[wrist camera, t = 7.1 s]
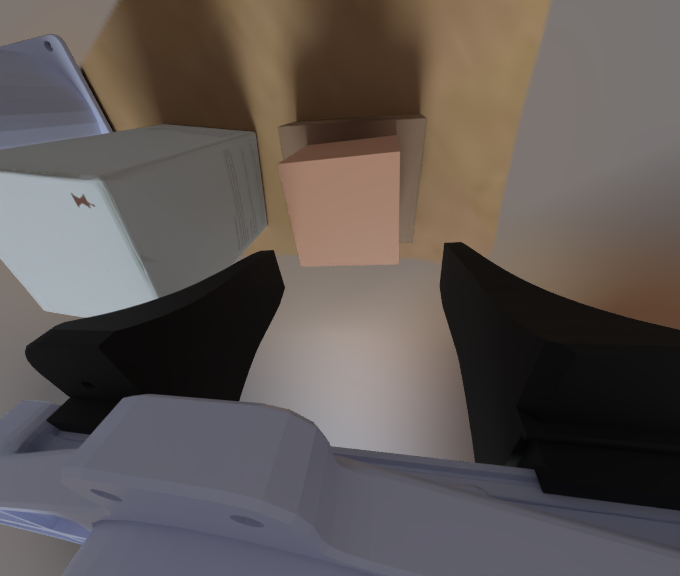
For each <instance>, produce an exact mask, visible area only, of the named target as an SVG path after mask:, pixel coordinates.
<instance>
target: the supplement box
mask: <svg viewBox="0 0 680 576" xmlns="http://www.w3.org/2000/svg"><path fill="white" fill-rule="evenodd" d="M266 227H267V217H266V208H265V201H264V193H263V185H262V178H261V170H260V162H259V155H258V147H257V139H256V133H255V132H252V131H240V130H227V129H215V128H204V127H192V126H180V125H166V124H161V125H155V126H150V127H144V128H137V129H131V130H124V131H118V132H112V133H105V134H99V135H92V136H86V137H78V138H72V139H65V140H59V141H52V142H46V143H39V144H33V145H26V146H20V147H14V148H7V149H1V150H0V259H1V260H2V261H3V262H4V263H5V265H6V266H7V267H8V268H9V269H10V271H11V272H12V273H13V274H14V275H15V276H16V278H17V279H18V280H19V281H20V282H21V283H22V285H23V286H24V287H25V288H26V289H27V291H28V292H29V293H30V294H31V295H32V297H33V298H34V299H35V300H36V301H37V303H38V304H39V305H40V306H41V308H42V309H43V310H44V311H49V312H55V313H60V314H67V315H73V316H80V317H86V318H88V317H92V316H97V315H102V314H106V313H110V312H114V311H118V310H122V309H125V308H129V307H132V306H136V305H139V304H143V303H146V302H149V301H152V300H155V299H158V298H160V297H163V296H166V295H169V294H172V293H174V292H177V291H179V290H182V289H184V288H187V287H189V286H191V285H194V284H196V283H198V282H200V281H202V280H204V279H206V278H208V277H210V276H212V275H214V274H216V273H218V272H220V271H222V270H224V269H226V268H227V267H229V266H231V265H232V264H233V263H234V262H235V261H236V260H237V259H238V258H239V257H240V256H241V254H242V253H243V252H244V251H245V250H246V249H247V248H248V247H249V246H250V244H251V243H252V242H253V241H254V240H255V239H256V238H257V237H258V236H259V235H260V233H261V232H262V231H263V230H264V229H265V228H266Z"/></svg>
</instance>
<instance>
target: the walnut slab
mask: <svg viewBox="0 0 680 576" xmlns="http://www.w3.org/2000/svg"><path fill="white" fill-rule="evenodd" d="M426 119H427V118H426V117H424V116H423V115H421V114H407V115H391V116H374V117H358V118H341V119H325V120H309V121H296V122H292V123H289V124H286V125H282V126H279V127H278V131H279V137H280V143H281V149H282V155H283V160H285V159H286V158H288V157H289V156H291V155H292V154H294V153H296V152H297V151H299V150H300V149H302V148H303V147H305V146H307V145H314V144H323V143H332V142H340V141H349V140H357V139H366V138H375V137H383V136H392V135H397V139H398V144H399V149H400V191H399V243H413V235H414V226H415V217H416V208H417V199H418V190H419V181H420V172H421V164H422V155H423V146H424V137H425V128H426Z"/></svg>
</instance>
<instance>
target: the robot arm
mask: <svg viewBox="0 0 680 576" xmlns="http://www.w3.org/2000/svg"><path fill="white" fill-rule="evenodd" d="M50 44H51V45H52V48H53V49H52V48H51V45H50ZM112 132H113V131H112V129H111V127H110V125H109V123H108V121H107V120H106V118H105V116H104V114H103V112H102V110H101V108H100V107H99V105H98V103H97V101H96V99H95V97H94V95H93V94H92V92H91V90H90V88H89V86H88V84H87V82H86V80H85V79H84V77H83V75H82V73H81V71H80V69H79V67H78V66H77V64H76V62H75V60H74V58H73V56H72V54H71V53H70V51H69V49H68V47H67V45H66V43H65V42H64V41H63V39H62V38H61V37H59V36H57V35H53V34H47V35H44V36H40V37H36V38H32V39H28V40H24V41H21V42H16V43H13V44H9V45H5V46H1V47H0V150H1V149H7V148H14V147H20V146H26V145H33V144H39V143H46V142H52V141H59V140H65V139H72V138H78V137H86V136H92V135H99V134H105V133H112ZM284 289H285V286H284V283H283V280H282V276H281V273H280V270H279V266H278V263H277V260H276V256H275V253H274V250H268V251H259V252H256V253H254V254H252V255H250V256H248V257H246V258H244V259H242V260H240V261H238V262H237V263H235V264H233V265H231V266H229V267H227V268H226V269H224V270H222V271H220V272H218V273H216V274H214V275H212V276H210V277H208V278H206V279H204V280H202V281H200V282H198V283H196V284H194V285H191V286H189V287H187V288H184V289H182V290H179V291H177V292H174V293H172V294H169V295H166V296H163V297H160V298H158V299H155V300H152V301H149V302H146V303H143V304H139V305H136V306H132V307H129V308H125V309H122V310H118V311H114V312H110V313H106V314H102V315H97V316H92V317H88V318H83V319H78V320H74V321H69V322H64V323H62V324H59V325H57V326H55V327H53V328H52V329H50V330H49V331H47V332H46V333H45V334H43V335H42V336H40V337H39V338H37V339H36V340H35V341H33V342H32V343H30V344H29V345H27V346H26V350H25V355H26V357H27V360H28V361H29V362H30V364H31V365H32V366H33V367H34V368H35V369H36V370H37V371H38V372H39V373H40V374H41V375H43V376H44V377H45V378H46V379H48V380H49V381H50V382H51V383H53V384H54V385H55V386H56V387H58V388H59V389H60V390H61V391H63V392H64V393H65V394H66V395H68V396H69V397H70V398H69V399H68V400H67V401H66V402H65V403H64V404H63V405H62V406H60V405H58V404H56V403H52V402H47V401H36V400H22V401H21V402H20V403H19V404H18V405H16V406H15V407H14V408H13V409H12V410H10V411H9V412H8V413H7V414H6V415H4V416H3V417H2V418H1V419H0V524H3V525H8V526H12V527H16V528H20V529H24V530H28V531H33V532H36V533H40V534H44V535H48V536H52V537H56V538H59V539H63V540H67V541H71V542H75V543H79V544H82V546H81V548H80V549H79V550H78V552H77V553H76V555H75V556H74V558H73V559H72V560H71V562H70V563H69V565H68V566H67V568H66V569H65V571H64V572H63V574H62V575H61V576H680V330H678V329H673V328H669V327H665V326H660V325H656V324H652V323H648V322H644V321H639V320H635V319H631V318H627V317H624V316H621V315H617V314H614V313H610V312H607V311H603V310H600V309H597V308H594V307H590V306H587V305H584V304H581V303H578V302H576V301H573V300H570V299H567V298H565V297H562V296H559V295H556V294H554V293H551V292H549V291H547V290H544V289H542V288H540V287H537V286H535V285H533V284H531V283H529V282H527V281H524V280H523V279H520V278H518V277H517V276H515V275H513V274H511V273H509V272H508V271H506V270H504V269H502V268H501V267H499V266H497V265H496V264H494V263H493V262H491V261H489V260H488V259H486V258H485V257H483V256H482V255H480V254H479V253H477V252H476V251H474V250H473V249H471V248H470V247H468V246H467V245H465V244H464V243H462V242H455V243H444V251H443V260H442V270H441V279H440V292H441V299H442V304H443V309H444V312H445V316H446V319H447V322H448V325H449V329H450V331H451V335H452V338H453V341H454V345H455V348H456V351H457V355H458V359H459V363H460V369H461V374H462V380H463V385H464V391H465V397H466V403H467V409H468V415H469V422H470V429H471V435H472V442H473V450H474V457H475V463H473V462H464V461H454V460H446V459H437V458H428V457H420V456H411V455H402V454H393V453H384V452H376V451H367V450H358V449H350V448H341V447H332V446H330V444H329V442H328V440H327V439H326V437H325V436H324V435H323V433H322V432H321V431H320V430H319V428H318V427H317V426H316V425H315V424H314V422H312V421H310V420H308V419H306V418H304V417H303V416H301V415H299V414H297V413H295V412H293V411H291V410H289V409H285V408H280V407H276V406H271V405H267V404H262V403H252V402H240V401H239V400H240V396H241V393H242V390H243V387H244V384H245V381H246V378H247V375H248V372H249V369H250V366H251V364H252V361H253V359H254V356H255V353H256V351H257V349H258V347H259V344H260V342H261V340H262V338H263V337H264V335H265V333H266V331H267V329H268V327H269V325H270V323H271V321H272V319H273V317H274V315H275V313H276V311H277V309H278V307H279V305H280V302H281V299H282V296H283V292H284Z"/></svg>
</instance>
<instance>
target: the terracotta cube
mask: <svg viewBox="0 0 680 576" xmlns="http://www.w3.org/2000/svg"><path fill="white" fill-rule="evenodd" d="M277 165H278V170H279V174H280V178H281V182H282V187H283V191H284V195H285V199H286V203H287V208H288V212H289V216H290V220H291V225H292V229H293V233H294V237H295V241H296V246H297V250H298V254H299V258H300V262H301V266H302V267H305V266H306V267H307V266H344V265H345V266H347V265H384V264H398V263H399V191H400V149H399V144H398V139H397V135H392V136H383V137H375V138H366V139H357V140H349V141H340V142H332V143H323V144H314V145H307V146H305V147H303V148H302V149H300V150H299V151H297V152H296V153H294V154H292V155H291V156H289V157H288V158H286V159H285V160H283V161H281V162H280V163H278V164H277Z"/></svg>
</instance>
